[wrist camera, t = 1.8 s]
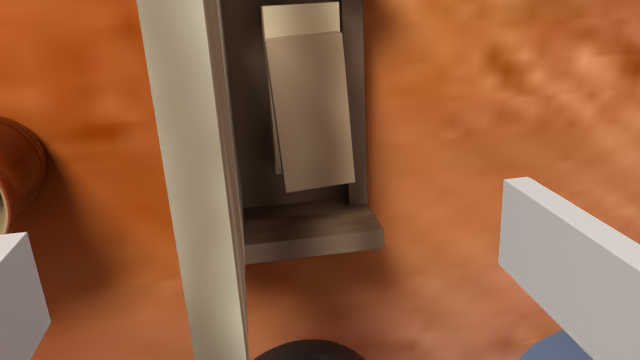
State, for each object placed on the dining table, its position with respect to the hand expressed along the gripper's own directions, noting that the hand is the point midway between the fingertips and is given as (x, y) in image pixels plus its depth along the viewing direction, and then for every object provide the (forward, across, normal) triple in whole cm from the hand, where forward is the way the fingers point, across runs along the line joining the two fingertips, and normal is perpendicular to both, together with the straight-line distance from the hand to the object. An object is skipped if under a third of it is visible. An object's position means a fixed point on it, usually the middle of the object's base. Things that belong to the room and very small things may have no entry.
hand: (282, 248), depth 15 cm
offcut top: (+23, +4, -1) cm, 23 cm away
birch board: (+28, -3, 0) cm, 28 cm away
